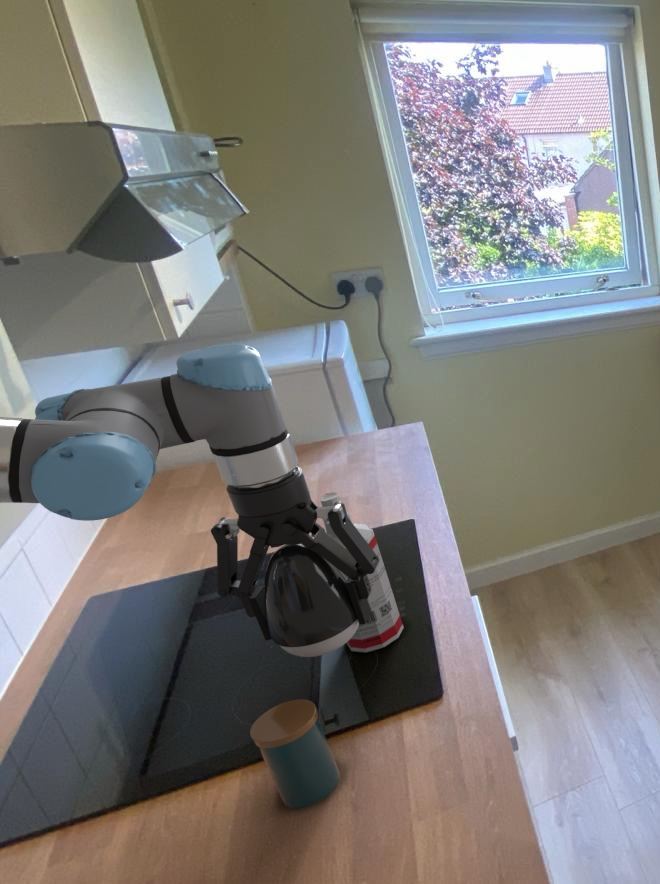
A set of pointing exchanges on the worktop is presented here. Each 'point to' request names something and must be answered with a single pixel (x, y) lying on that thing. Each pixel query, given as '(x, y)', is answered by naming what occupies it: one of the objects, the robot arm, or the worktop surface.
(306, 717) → the canister
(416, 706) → the worktop surface
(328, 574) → the black egg-shaped gadget
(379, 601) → the white plastic bottle
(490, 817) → the worktop surface
